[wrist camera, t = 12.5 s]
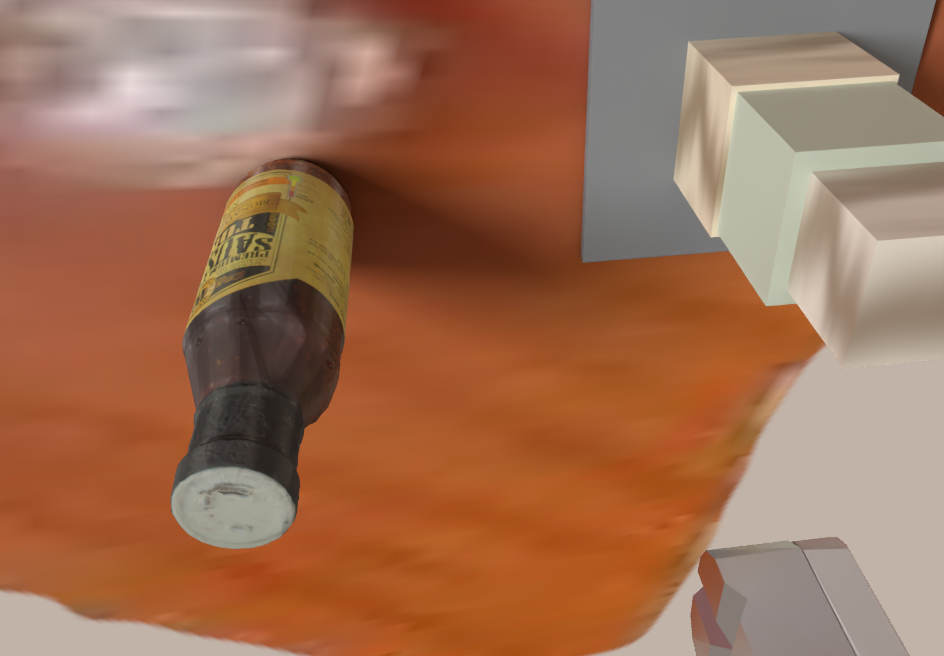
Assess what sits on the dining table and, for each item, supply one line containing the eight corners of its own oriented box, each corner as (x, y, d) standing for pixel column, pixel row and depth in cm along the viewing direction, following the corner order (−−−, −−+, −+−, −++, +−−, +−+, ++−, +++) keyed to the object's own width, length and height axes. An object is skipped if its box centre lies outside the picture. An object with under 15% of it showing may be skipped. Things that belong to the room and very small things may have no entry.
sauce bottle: (274, 127, 41) (207, 393, 25) (379, 200, 44) (380, 483, 27) (201, 223, 43) (97, 521, 27) (305, 287, 46) (266, 592, 30)
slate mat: (593, -61, 37) (596, -58, 37) (949, -82, 38) (957, -80, 38) (580, 257, 47) (582, 262, 46) (867, 233, 47) (872, 239, 47)
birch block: (688, 41, 40) (731, 86, 35) (835, 31, 40) (899, 74, 35) (673, 179, 44) (710, 237, 39) (807, 169, 44) (861, 225, 39)
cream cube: (811, 171, 31) (877, 240, 27) (947, 161, 31) (1033, 228, 27) (786, 289, 33) (843, 368, 29) (910, 279, 34) (983, 355, 30)
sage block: (737, 91, 35) (795, 152, 30) (892, 80, 35) (974, 138, 30) (716, 232, 39) (765, 306, 34) (857, 221, 39) (925, 292, 34)
